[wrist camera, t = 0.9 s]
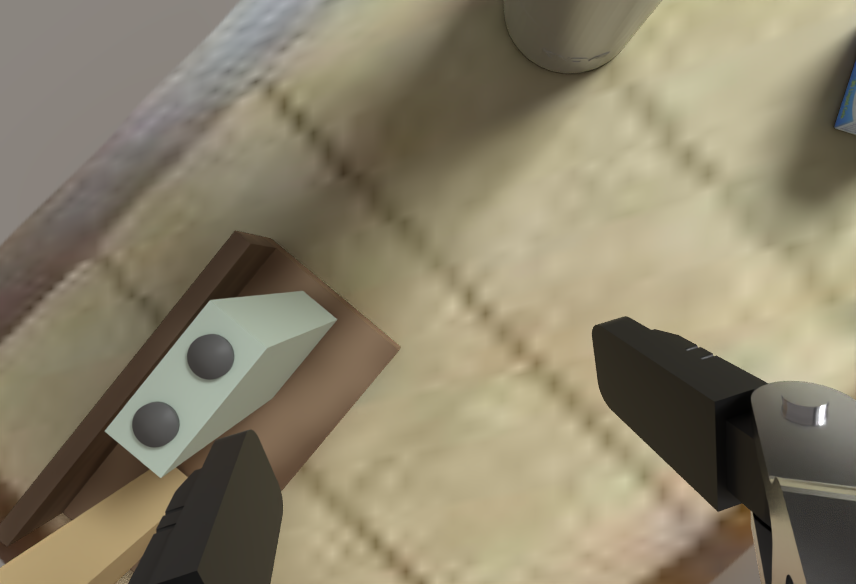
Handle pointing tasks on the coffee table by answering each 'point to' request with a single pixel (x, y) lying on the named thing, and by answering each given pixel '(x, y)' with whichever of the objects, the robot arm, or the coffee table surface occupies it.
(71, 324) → the coffee table surface
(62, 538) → the tile one
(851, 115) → the medicine box
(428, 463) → the coffee table surface
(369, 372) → the tile rack
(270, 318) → the tile two
